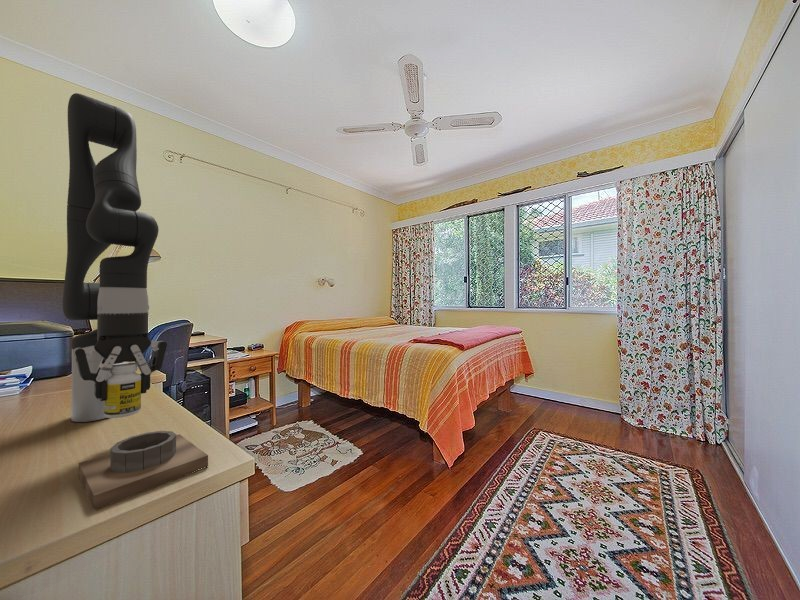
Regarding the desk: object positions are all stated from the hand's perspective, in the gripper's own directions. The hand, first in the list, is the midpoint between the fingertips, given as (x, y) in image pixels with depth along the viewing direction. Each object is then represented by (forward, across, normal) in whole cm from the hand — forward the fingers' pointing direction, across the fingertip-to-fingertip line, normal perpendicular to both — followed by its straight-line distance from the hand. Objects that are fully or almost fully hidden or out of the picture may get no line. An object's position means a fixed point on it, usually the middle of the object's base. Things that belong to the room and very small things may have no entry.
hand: (123, 395), depth 61 cm
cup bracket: (+9, 0, +16) cm, 18 cm away
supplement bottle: (+4, 0, 0) cm, 4 cm away
